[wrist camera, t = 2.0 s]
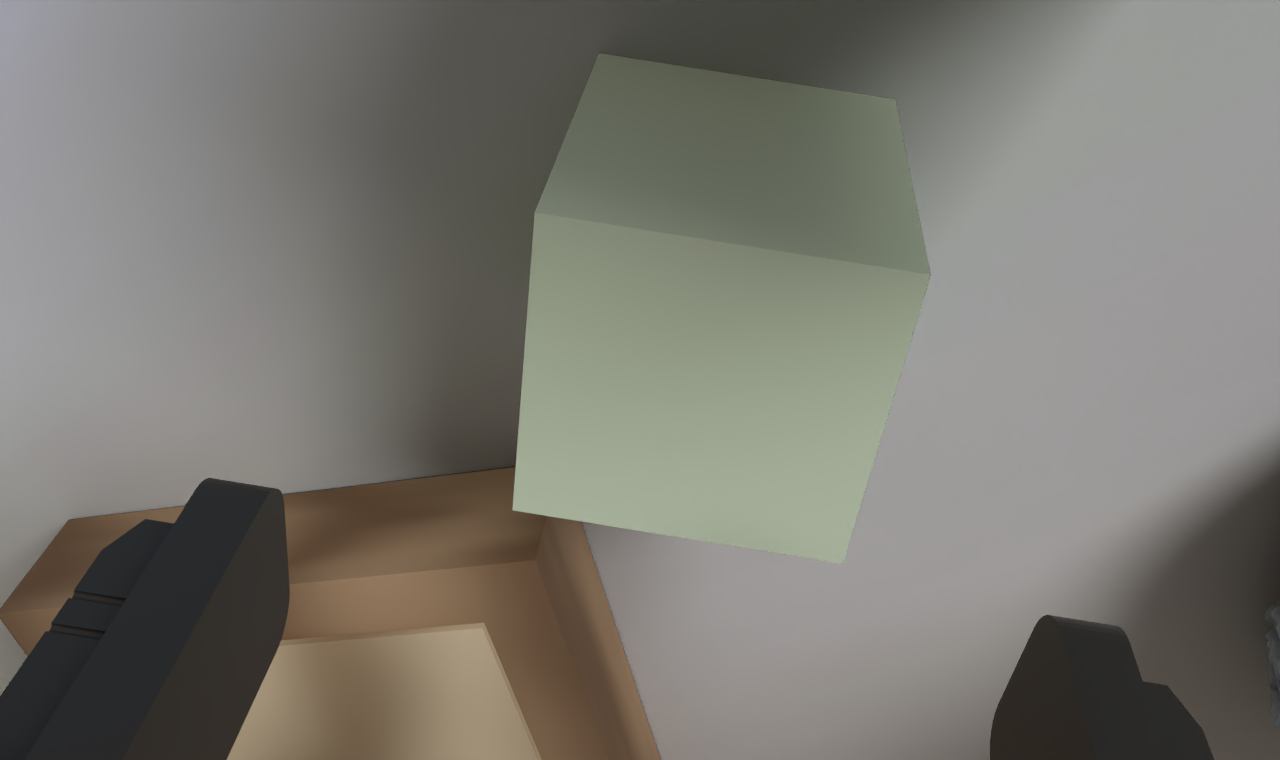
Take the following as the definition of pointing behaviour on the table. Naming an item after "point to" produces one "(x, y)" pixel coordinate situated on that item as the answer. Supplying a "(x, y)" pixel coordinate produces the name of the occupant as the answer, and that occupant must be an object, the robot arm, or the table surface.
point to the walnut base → (413, 628)
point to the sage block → (717, 308)
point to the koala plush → (1274, 658)
